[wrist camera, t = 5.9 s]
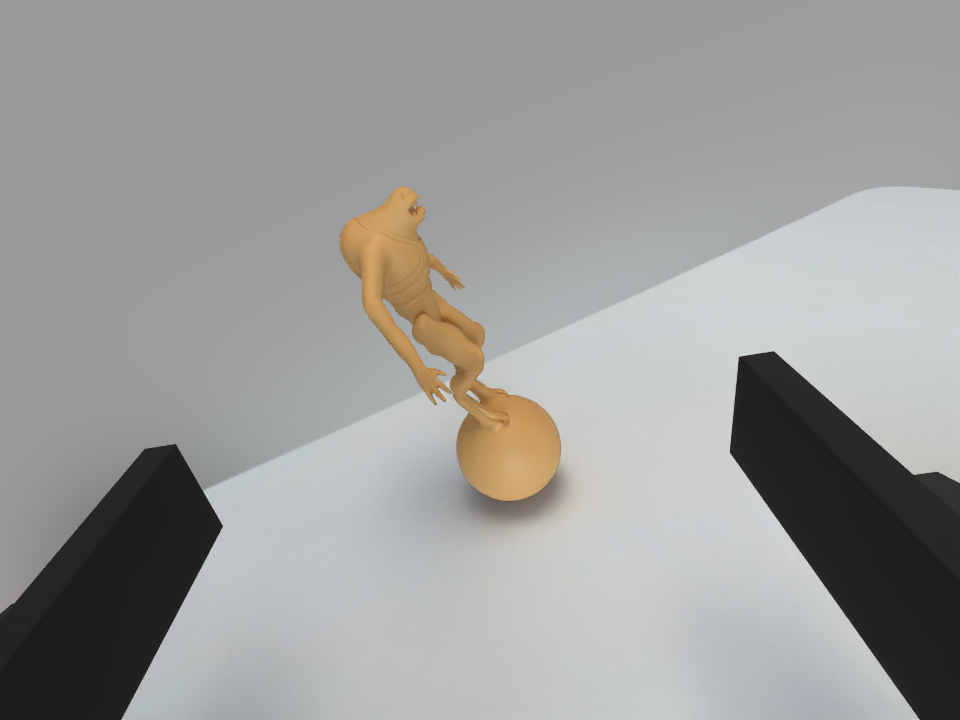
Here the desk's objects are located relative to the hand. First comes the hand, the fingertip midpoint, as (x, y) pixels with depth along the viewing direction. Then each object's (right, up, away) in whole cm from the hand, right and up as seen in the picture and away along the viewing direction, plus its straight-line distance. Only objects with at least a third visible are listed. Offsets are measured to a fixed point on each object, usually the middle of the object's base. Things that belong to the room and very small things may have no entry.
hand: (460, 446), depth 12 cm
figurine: (+1, -3, +9) cm, 9 cm away
